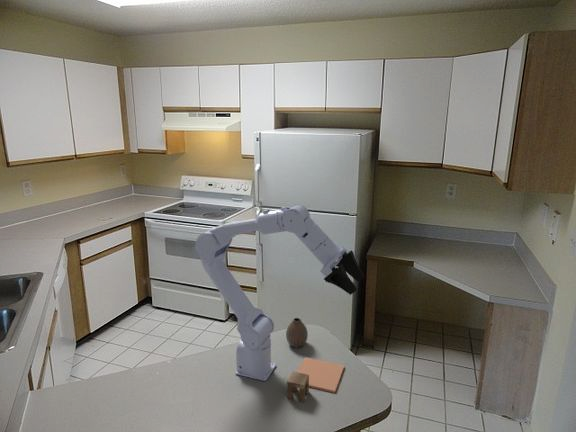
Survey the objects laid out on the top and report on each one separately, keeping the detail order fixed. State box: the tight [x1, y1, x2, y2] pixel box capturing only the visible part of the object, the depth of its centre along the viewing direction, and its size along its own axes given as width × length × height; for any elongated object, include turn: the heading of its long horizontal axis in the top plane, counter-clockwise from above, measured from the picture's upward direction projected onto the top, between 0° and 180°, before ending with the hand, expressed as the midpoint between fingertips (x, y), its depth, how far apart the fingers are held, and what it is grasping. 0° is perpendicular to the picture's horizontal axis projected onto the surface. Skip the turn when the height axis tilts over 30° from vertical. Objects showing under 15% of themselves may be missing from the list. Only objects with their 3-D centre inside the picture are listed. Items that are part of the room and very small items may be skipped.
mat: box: [296, 357, 345, 393], centre depth 113 cm, size 12×12×1 cm
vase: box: [285, 317, 309, 348], centre depth 128 cm, size 7×7×9 cm
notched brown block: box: [286, 371, 310, 403], centre depth 104 cm, size 4×4×5 cm
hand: (357, 285), depth 98 cm, fingers open, 7 cm apart
